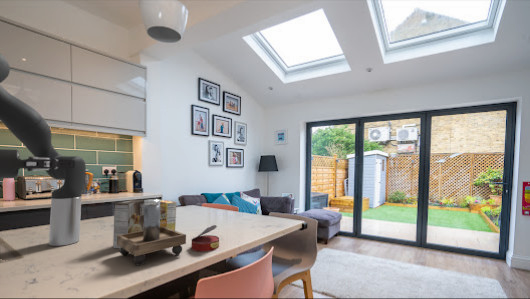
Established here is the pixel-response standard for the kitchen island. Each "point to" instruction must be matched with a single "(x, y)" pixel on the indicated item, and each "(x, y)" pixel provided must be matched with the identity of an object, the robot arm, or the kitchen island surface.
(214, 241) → the canned food
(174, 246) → the tray
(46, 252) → the kitchen island surface
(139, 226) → the coffee box
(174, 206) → the candy box
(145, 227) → the canister
